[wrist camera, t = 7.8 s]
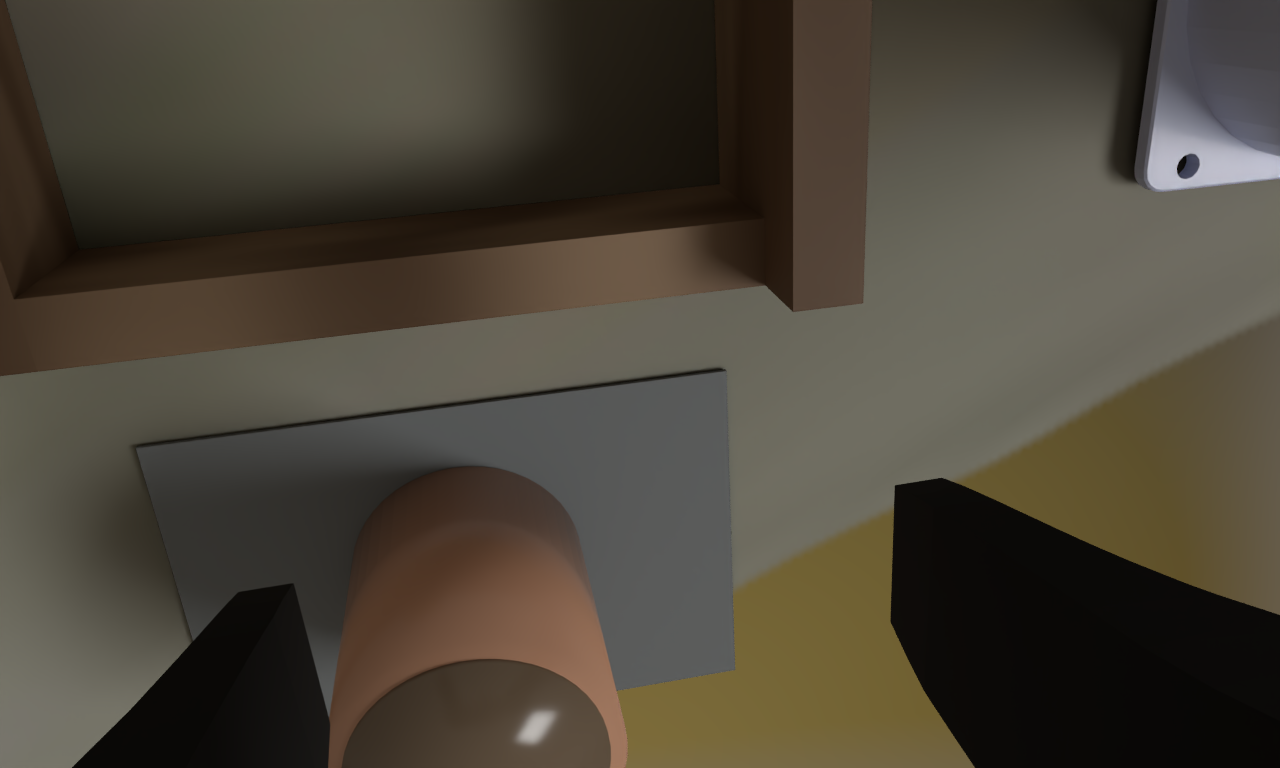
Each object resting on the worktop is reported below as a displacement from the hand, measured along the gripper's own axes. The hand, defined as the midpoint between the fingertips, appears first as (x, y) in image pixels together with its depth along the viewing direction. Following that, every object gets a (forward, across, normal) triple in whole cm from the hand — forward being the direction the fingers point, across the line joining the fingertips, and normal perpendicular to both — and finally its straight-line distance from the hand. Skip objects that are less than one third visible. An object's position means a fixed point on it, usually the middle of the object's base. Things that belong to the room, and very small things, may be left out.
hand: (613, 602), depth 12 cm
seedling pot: (+9, +2, +5) cm, 11 cm away
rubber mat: (+9, +2, +5) cm, 11 cm away
